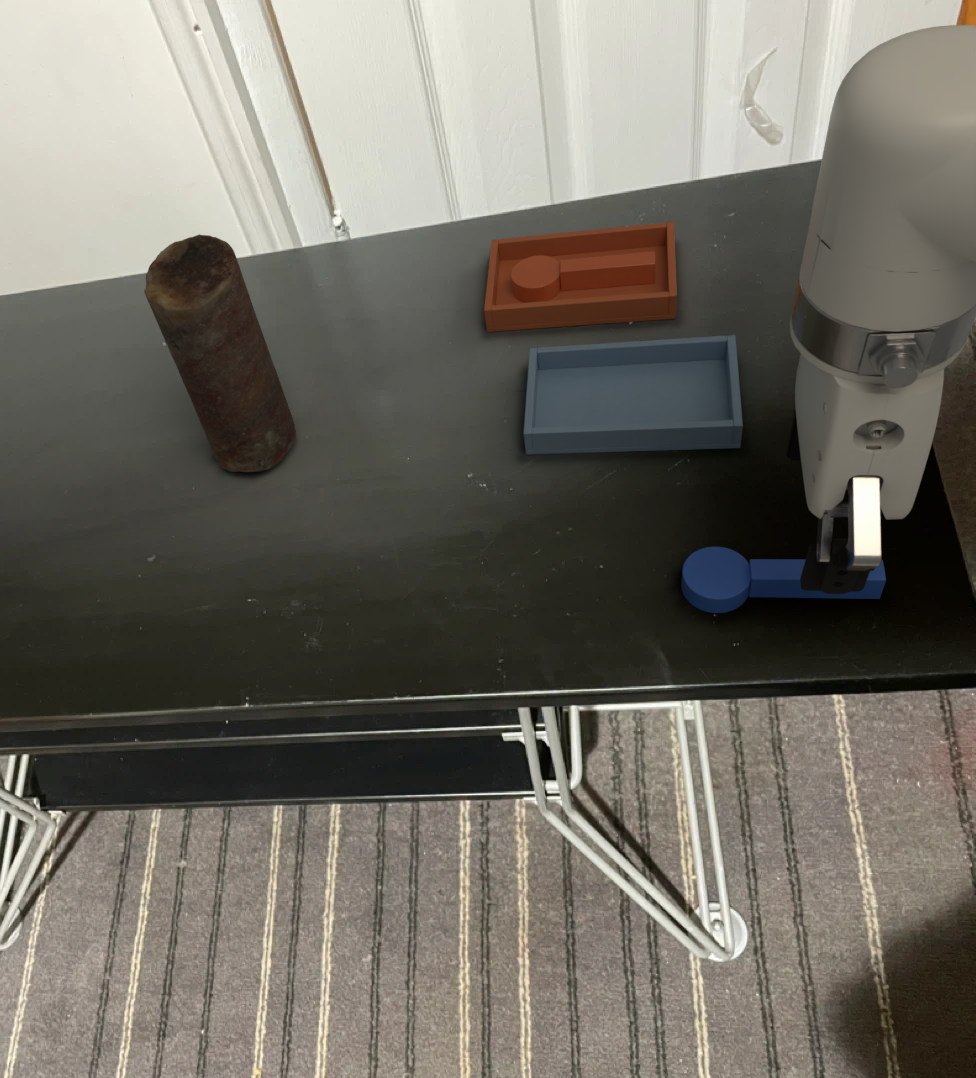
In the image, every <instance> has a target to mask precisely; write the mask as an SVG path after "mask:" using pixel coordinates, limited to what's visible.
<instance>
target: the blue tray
mask: <svg viewBox="0 0 976 1078" xmlns="http://www.w3.org/2000/svg"><path fill="white" fill-rule="evenodd" d="M528 350H529V352H528V353H529V354H528V365H527V379H526V392H525V394H526V395H525V404H524V405H525V407H524V408H525V409H524V418H523V419H524V420H523V439H524V448H525V449H524V450H525V455H528V456H529V455H554V454H555V455H556V454H558V455H559V454H589V453H590V454H591V453H621V452H626V453H627V452H657V451H658V452H659V451H688V450H689V451H690V450H719V449H720V450H721V449H722V450H723V449H726V450H727V449H741V445H742V444H741V443H742V435H743V427H744V424H743V411H742V410H743V409H742V398H741V388H740V387H741V386H740V377H739V376H740V375H739V362H738V351H737V350H738V349H737V338H736V334H728V335H715V336H714V335H713V336H698V337H697V336H696V337H695V336H694V337H683V338H681V337H680V338H665V339H664V338H663V339H651V340H634V341H618V342H604V343H603V342H602V343H589V344H572V345H558V346H557V345H556V346H541V347H529V349H528Z"/></svg>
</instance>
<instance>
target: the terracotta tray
mask: <svg viewBox="0 0 976 1078" xmlns="http://www.w3.org/2000/svg"><path fill="white" fill-rule="evenodd" d="M675 235H676V233H675V222H674V221H668V222H657V223H647V224H638V225H637V224H636V225H627V226H618V227H608V228H597V229H596V228H595V229H587V230H577V231H568V232H558V233H547V234H538V235H536V234H535V235H527V236H518V237H507V238H506V237H505V238H498V239H492V240H491V242H490V252H489V262H488V263H489V264H488V270H487V279H486V280H487V281H486V287H485V288H486V289H485V298H484V307H483V313H484V319H485V327H486V332H487V333H492V332H505V331H506V332H507V331H521V330H534V329H548V328H549V329H550V328H561V327H562V328H563V327H565V328H566V327H577V326H578V327H579V326H591V325H606V324H620V323H622V324H623V323H635V322H636V323H637V322H648V321H662V320H663V321H664V320H676V319H677V306H678V305H677V304H678V303H677V302H678V288H677V285H678V283H677V262H676V261H677V260H676V258H677V257H676V236H675ZM651 251H655V259H656V268H655V283H654V284H643V285H631V286H619V287H607V288H594V289H582V290H570V291H560V292H559V294H558V295H557V296H556V297H554V298H553V299H551V300H549V301H542V302H529V303H524V302H522V301H520V300H518V299H517V298H516V297H515V296H514V294H513V288H512V279H511V272H512V269H513V268H514V266H515V265H516V264H517V263H519V262H520V261H521V260H523V259H525V258H528V257H531V256H537V255H544V256H549V257H552V258H554V259H556V260H557V261H558V262H559V263H560V260H564V259H575V258H586V257H596V256H607V255H618V254H629V253H640V252H651Z"/></svg>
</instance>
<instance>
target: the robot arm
mask: <svg viewBox="0 0 976 1078" xmlns="http://www.w3.org/2000/svg"><path fill="white" fill-rule="evenodd" d="M832 103H833V104H832V108H831V112H830V116H829V121H828V126H827V132H826V137H825V141H824V147H823V151H822V157H821V162H820V166H819V172H818V177H817V183H816V187H815V192H814V197H813V202H812V208H811V214H810V221H809V225H808V229H807V230H808V231H807V235H806V240H805V245H804V249H803V255H802V259H801V263H800V264H801V265H800V270H799V276H798V281H797V285H796V286H797V287H796V291H795V295H794V302H793V306H792V311H791V314H790V321H789V332H790V338H791V340H792V342H793V344H794V347H795V349H796V350H797V351H798V352H799V354H800V355H799V359H798V364H797V368H796V377H795V384H794V385H795V386H794V404H795V405H794V408H795V410H794V411H793V416H792V420H791V425H790V429H789V434H788V438H787V443H786V448H785V453H786V458H787V459H789V460H790V461H800V463H801V471H802V480H803V486H804V487H803V488H804V493H805V500H806V505H807V508H808V511H809V512H810V513H811V514H813V515H814V516H815V517H816V518H817V533H816V535H817V537H816V542H813V543H810V544H809V546H808V550H807V552H806V553H807V554H806V557H805V559H806V560H805V564H804V567H803V571H802V574H801V578H800V584H801V589H803V590H807V591H822V592H824V593H827V594H845V593H848V592H857V591H861V590H863V589H864V587H865V584H866V581H867V578H868V576H869V573H870V571H873V570H874V568H876V567H878V566H879V565H880V563H881V560H882V522H881V519H882V514H883V516H884V519H885V520H886V521H887V520H903V519H905V518H906V517H907V516H908V515H909V514H910V513H911V511H912V510H913V507H914V504H915V501H916V498H917V495H918V493H919V489H920V485H921V482H922V479H923V475H924V472H925V469H926V465H927V461H928V459H929V455H930V451H931V448H932V444H933V441H934V437H935V433H936V430H937V429H936V428H937V423H938V419H939V414H940V409H941V403H942V397H943V389H944V383H945V382H944V380H945V368H946V367H948V366H949V365H951V364H952V363H953V362H954V361H955V360H956V359H957V358H958V357H959V356H960V354H961V352H962V351H963V350H964V348H965V346H966V343H967V340H968V338H969V336H970V333H971V330H972V328H973V325H974V323H975V320H976V25H971V24H970V25H969V24H951V25H937V26H931V27H925V28H921V29H916V30H913V31H909V32H906V33H902V34H900V35H898V36H895V37H893V38H890V39H888V40H886V41H884V42H882V43H880V44H878V45H877V46H875V47H873V48H871V49H870V50H868V52H866V53H865V54H864V55H863V56H862V57H861V58H860V59H858V60H857V61H856V62H855V63H854V64H853V65H852V66H851V68H850V69H849V71H848V72H847V73H846V74H845V76H844V77H843V79H842V80H841V83H840V84H839V86H838V89H837V91H836V94H835V96H834V100H833V102H832ZM846 491H847V501H845V502H843V500H844V498H845V495H846ZM836 518H837V519H838V518H841V519H848V520H847V525H848V526H847V527H848V528H847V529H848V531H847V532H848V536H847V537H848V538H843V537H841V538H838V537H837V538H833V529H834V519H836Z"/></svg>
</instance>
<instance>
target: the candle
mask: <svg viewBox="0 0 976 1078" xmlns="http://www.w3.org/2000/svg"><path fill="white" fill-rule="evenodd" d="M143 293H144V296H145V298H146V300H147V302H148V304H149V307H150V309H151V311H152V314H153V316H154V318H155V321H156V323H157V325H158V327H159V330H160V333H161V335H162V336H163V337H162V338H163V339H164V342H165V343H166V347H167V348H168V351H169V353H170V356H171V357H172V360H173V362H174V364H175V366H176V368H177V371H178V373H179V375H180V378H181V381H182V383H183V385H184V388H185V389H186V392H187V394H188V396H189V398H190V401H191V404H192V406H193V408H194V410H195V413H196V416H197V417H198V420H199V422H200V425H201V427H202V430H203V432H204V434H205V437H206V440H207V441H208V444H209V446H210V448H211V450H212V453H213V455H214V457H215V460H216V462H217V463H218V464H219V466H220V467H221V468H222V469H224V470H227V471H228V472H232V473H237V472H238V473H239V472H242V473H256V472H257V473H258V472H262V471H267V470H270V469H273V467H274V466H276V465H278V464H279V463H280V462H281V461H282V460H283V459H284V457H285V456H286V455H287V453H289V451H290V450H291V448H292V446H293V444H294V443H295V440H296V438H297V429H296V425H295V421H294V419H293V415H292V413H291V410H290V406H289V404H288V400H287V398H286V395H285V392H284V390H283V389H284V388H283V387H282V386H283V385H282V383H281V381H280V378H279V375H278V372H277V370H276V367H275V365H274V362H273V359H272V356H271V353H270V350H269V348H268V345H267V342H266V339H265V336H264V333H263V331H262V328H261V325H260V323H259V322H260V321H259V319H258V317H257V313H256V311H255V307H254V305H253V302H252V299H251V296H250V293H249V290H248V287H247V284H246V282H245V279H244V276H243V273H242V269H241V267H240V264H239V261H238V258H237V255H236V253H235V250H234V248H233V247H232V246H231V245H230V244H229V242H227V241H225V240H223V239H221V238H218V237H217V236H211V235H209V234H208V235H206V234H200V233H199V234H197V235H193V236H190V237H187V238H184V239H182V240H178V241H177V240H176V241H174V242H172V243H170V244H169V245H168V246H166V247H165V248H164V249H163V250H161V251H160V252H159V254H157V256H156V257H155V259H154V260H153V261H152V262H151V263H150V265H149V266H148V269H147V271H146V273H145V289H144V290H143Z"/></svg>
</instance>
